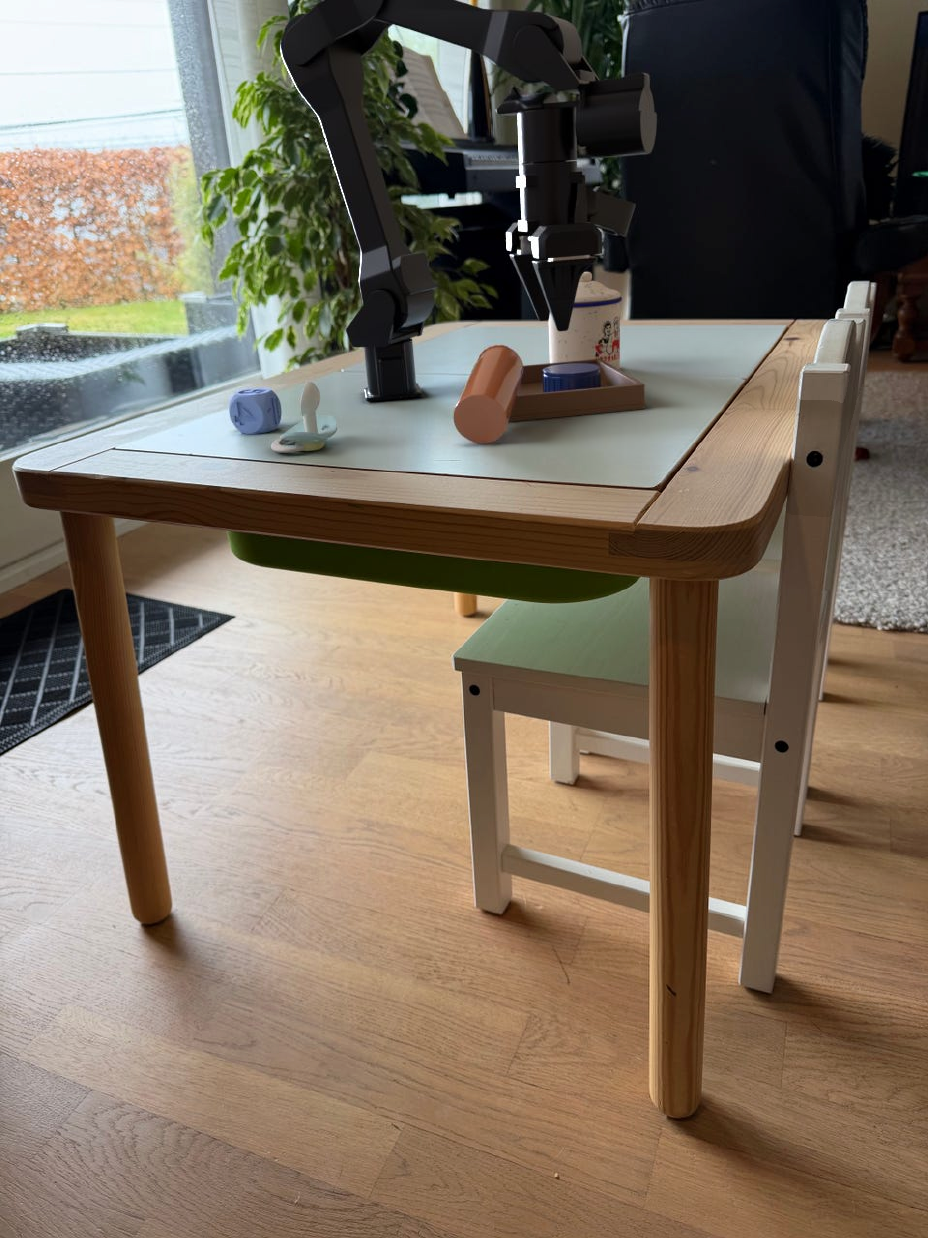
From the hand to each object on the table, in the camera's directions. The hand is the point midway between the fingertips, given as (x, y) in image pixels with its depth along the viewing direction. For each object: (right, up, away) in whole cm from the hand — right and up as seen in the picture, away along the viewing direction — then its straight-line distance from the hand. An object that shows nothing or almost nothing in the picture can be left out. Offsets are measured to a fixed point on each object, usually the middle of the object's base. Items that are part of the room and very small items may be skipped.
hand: (553, 325), depth 101 cm
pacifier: (-25, -15, -9) cm, 30 cm away
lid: (+2, -4, +2) cm, 5 cm away
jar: (-8, -13, -14) cm, 21 cm away
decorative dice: (-31, -11, 0) cm, 33 cm away
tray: (0, -7, +3) cm, 8 cm away
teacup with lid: (+6, 0, +19) cm, 20 cm away
